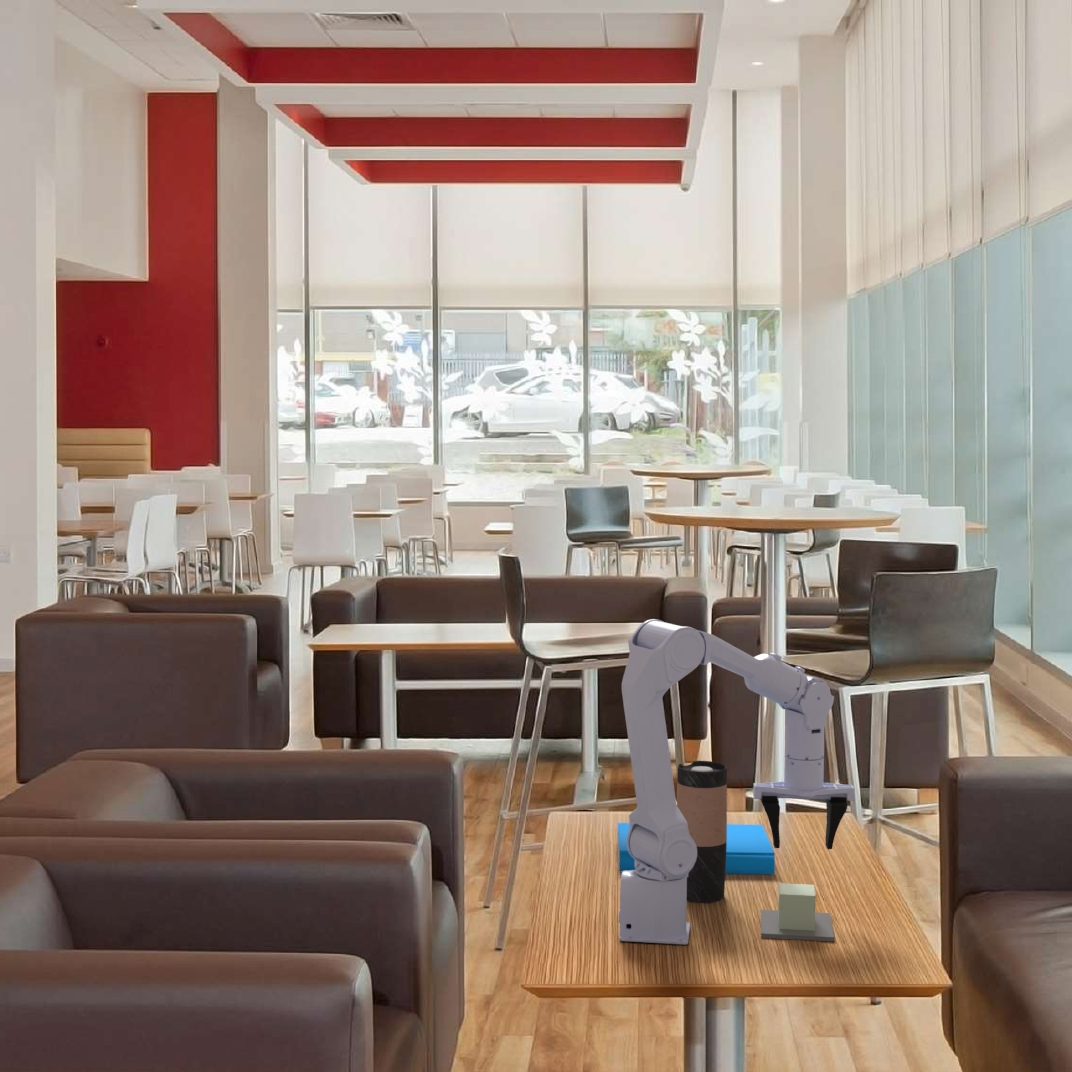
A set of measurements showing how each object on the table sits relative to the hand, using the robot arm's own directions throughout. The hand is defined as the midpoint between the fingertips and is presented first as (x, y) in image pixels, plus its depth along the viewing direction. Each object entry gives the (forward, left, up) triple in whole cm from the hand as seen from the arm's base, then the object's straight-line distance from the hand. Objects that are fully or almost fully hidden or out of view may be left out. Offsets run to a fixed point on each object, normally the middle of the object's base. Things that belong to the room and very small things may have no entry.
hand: (802, 846), depth 211 cm
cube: (-1, -8, -9) cm, 12 cm away
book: (-17, +23, -10) cm, 30 cm away
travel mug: (-15, +4, -10) cm, 18 cm away
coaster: (-1, -8, -9) cm, 12 cm away
